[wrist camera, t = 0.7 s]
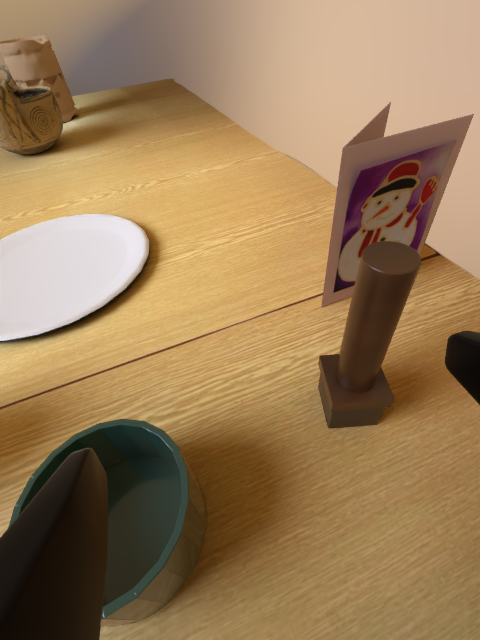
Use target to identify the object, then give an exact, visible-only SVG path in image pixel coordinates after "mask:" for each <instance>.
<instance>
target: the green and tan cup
mask: <svg viewBox="0 0 480 640" xmlns="http://www.w3.org/2000/svg"><path fill="white" fill-rule="evenodd" d="M85 448H91V449H93V450H94V452H95V454H96V455H97V457H98V459H99V461H100V463H101V464H102V466H103V468H104V470H105V472H106V475H107V481H108V555H107V568H106V578H105V587H104V597H103V607H102V617H101V627H113V626H117V625H124V624H129V623H133V622H136V621H139V620H141V619H144V618H146V617H148V616H149V615H151V614H153V613H155V612H156V611H158V610H159V609H160V608H162V607H163V606H164V605H166V604H167V603H168V602H169V601H170V600H171V599H172V598H173V597H174V596H175V595H176V593H177V592H178V591H179V590H180V589H181V587H182V586H183V585H184V583H185V582H186V580H187V579H188V577H189V576H190V574H191V572H192V570H193V568H194V566H195V564H196V562H197V559H198V556H199V554H200V551H201V547H202V544H203V540H204V533H205V524H206V513H205V504H204V499H203V495H202V492H201V489H200V487H199V485H198V483H197V480H196V478H195V475H194V474H193V472H192V470H191V468H190V466H189V465H188V463H187V461H186V459H185V458H184V456H183V454H182V452H181V450H180V449H179V447H178V446H177V445H176V444H175V442H174V441H173V440H172V439H171V438H170V437H169V436H168V435H167V434H166V433H165V431H163V430H161V429H159V428H157V427H155V426H153V425H151V424H149V423H147V422H145V421H138V420H128V419H119V420H114V421H109V422H104V423H99V424H96V425H94V426H92V427H90V428H88V429H86V430H84V431H82V432H80V433H77V434H75V435H74V436H72V437H71V438H70V439H69V440H67V441H66V442H65V443H63V444H62V445H61V446H60V447H58V448H57V449H56V450H54V451H53V452H52V453H51V454H50V455H49V456H48V457H47V459H46V460H45V461H44V462H43V463H42V464H41V466H40V467H39V468H38V469H37V470H36V471H35V473H34V474H33V475H32V476H31V478H30V479H29V481H28V483H27V485H26V486H25V488H24V490H23V492H22V494H21V495H20V497H19V499H18V501H17V503H16V505H15V507H14V510H13V514H12V517H11V521H10V524H9V527H10V526H11V525H12V523H13V522H14V521H15V520H16V519H17V517H18V516H19V515H20V514H21V512H22V511H23V510H24V509H25V508H26V506H27V505H28V504H29V503H30V502H31V500H32V499H33V498H34V497H35V495H36V494H37V493H38V492H39V491H40V489H41V488H42V487H43V486H44V485H45V483H46V482H47V481H48V480H49V479H50V477H51V476H52V475H53V474H54V472H55V471H56V470H57V469H58V468H59V466H60V465H61V464H62V463H63V462H64V460H65V459H66V458H67V457H68V456H69V455H70V454H71V453H73V452H75V451H79V450H82V449H85Z"/></svg>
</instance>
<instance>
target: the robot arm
mask: <svg viewBox="0 0 480 640" xmlns="http://www.w3.org/2000/svg"><path fill="white" fill-rule="evenodd" d="M445 365H446V367H447V369H448V371H449V372H450V373H451V374H452V375H453V376H454V377H455V378H456V379H457V381H458V382H459V383H460V384H461V385H462V386H463V387H464V388H465V389H466V390H467V391H468V393H469V394H470V395H471V396H472V397H473V398H474V399H475V400H476V401H477V402H478V404H479V405H480V333H478V332H472V331H462V332H459V333H456V334H453V335H451V336H450V337H449V338H448V342H447V349H446V357H445ZM107 555H108V481H107V475H106V472H105V470H104V468H103V466H102V464H101V463H100V461H99V459H98V457H97V455H96V454H95V452H94V450H93V449H91V448H85V449H82V450H79V451H75V452H73V453H71V454H70V455H69V456H68V457H67V458H66V459H65V460H64V462H63V463H62V464H61V465H60V466H59V468H58V469H57V470H56V471H55V472H54V474H53V475H52V476H51V477H50V479H49V480H48V481H47V482H46V483H45V485H44V486H43V487H42V488H41V489H40V491H39V492H38V493H37V494H36V495H35V497H34V498H33V499H32V500H31V502H30V503H29V504H28V505H27V506H26V508H25V509H24V510H23V511H22V512H21V514H20V515H19V516H18V517H17V519H16V520H15V521H14V522H13V523H12V525H11V526H10V527H9V528H8V529H7V531H6V532H5V533H4V534H3V536H2V537H1V538H0V640H99V636H100V627H101V617H102V607H103V597H104V587H105V578H106V568H107Z"/></svg>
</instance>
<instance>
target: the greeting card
mask: <svg viewBox="0 0 480 640" xmlns="http://www.w3.org/2000/svg"><path fill="white" fill-rule="evenodd" d="M390 104H391V103H389V104H388V105H387V106H386V107H385V108H384V109H383V110H382V111H381V112H380V113H379V114H378V115H377V116H376V117H375V118H373V119H372V120H371V121H370V122H369V123H368V124H367V125H366V126H365V127H364V128H363V129H362V130H361V131H360V132H359V133H358V134H357V135H356V136H355V137H354V138H353V139H352V140H351V141H350V142H349V143H348V144H346V145H345V146H344V147H343V151H342V158H341V165H340V173H339V180H338V188H337V195H336V203H335V210H334V217H333V225H332V232H331V240H330V247H329V255H328V262H327V269H326V277H325V284H324V292H323V299H322V307H323V306H326V305H328V304H331V303H334V302H336V301H339V300H342V299H344V298H347V297H350V296H352V295H353V291H354V286H355V282H356V277H357V273H358V268H359V264H360V259H361V255H362V252H363V250H364V249H365V248H366V247H367V246H368V245H370V244H372V243H375V242H380V241H393V242H399V243H402V244H405V245H408V246H410V247H412V248H413V249H415V250H416V251H417V252H418V253H419V255H420V254H421V251H422V249H423V246H424V243H425V241H426V238H427V236H428V233H429V230H430V227H431V224H432V222H433V220H434V217H435V215H436V212H437V209H438V206H439V204H440V201H441V199H442V196H443V194H444V191H445V188H446V185H447V183H448V180H449V178H450V175H451V172H452V170H453V167H454V165H455V162H456V160H457V157H458V154H459V152H460V149H461V146H462V144H463V141H464V139H465V136H466V133H467V131H468V128H469V125H470V123H471V120H472V118H473V115H474V114H472V115H468V116H464V117H460V118H457V119H453V120H450V121H445V122H441V123H437V124H434V125H430V126H426V127H422V128H418V129H415V130H410V131H406V132H403V133H399V134H395V135H391V136H387V137H384V132H385V127H386V123H387V118H388V113H389V108H390Z"/></svg>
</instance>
